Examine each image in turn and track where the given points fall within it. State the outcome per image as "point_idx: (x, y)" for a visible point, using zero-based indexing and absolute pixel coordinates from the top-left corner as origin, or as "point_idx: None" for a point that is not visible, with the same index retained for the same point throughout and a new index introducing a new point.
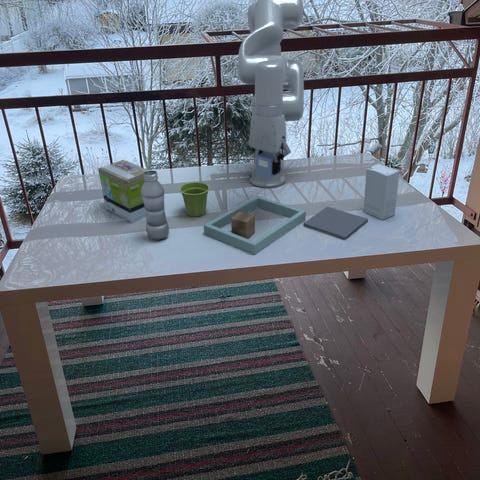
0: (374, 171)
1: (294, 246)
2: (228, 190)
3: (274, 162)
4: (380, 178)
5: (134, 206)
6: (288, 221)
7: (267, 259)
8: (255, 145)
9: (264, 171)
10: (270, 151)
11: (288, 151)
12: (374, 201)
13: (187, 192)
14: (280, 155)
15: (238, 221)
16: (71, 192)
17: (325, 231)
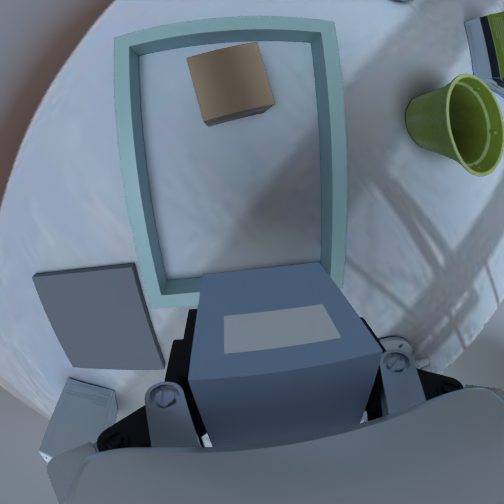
0: None
1: (75, 159)
2: (429, 276)
3: (179, 379)
4: (56, 448)
5: (489, 24)
6: (134, 221)
7: (86, 61)
8: (444, 432)
9: (254, 290)
10: (160, 461)
11: (53, 478)
12: (78, 407)
13: (481, 132)
14: (111, 444)
15: (223, 50)
16: None
17: (72, 272)
